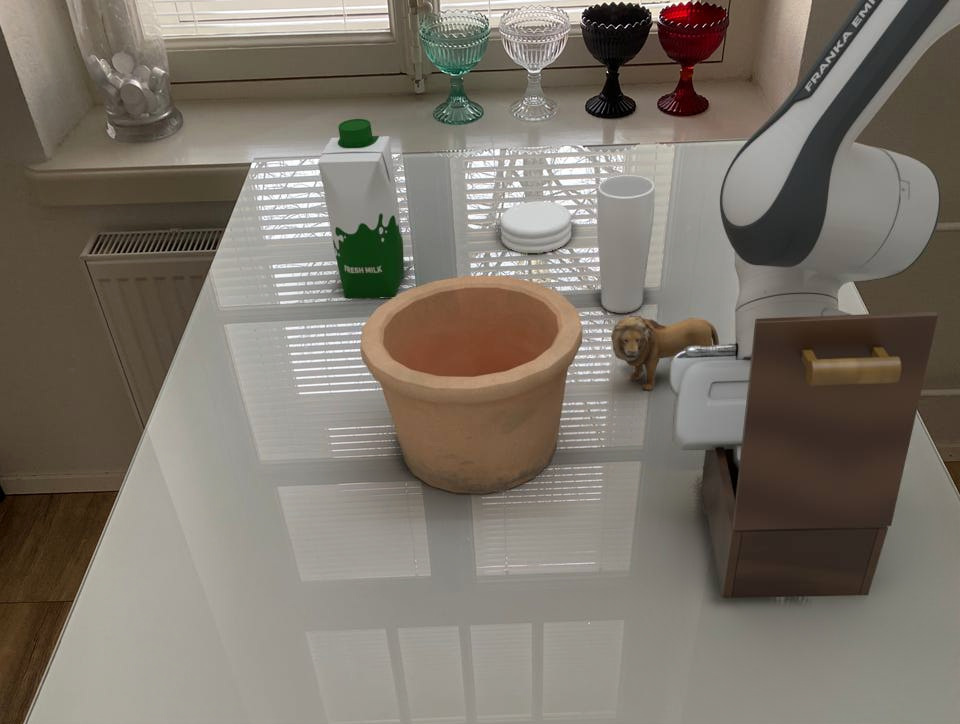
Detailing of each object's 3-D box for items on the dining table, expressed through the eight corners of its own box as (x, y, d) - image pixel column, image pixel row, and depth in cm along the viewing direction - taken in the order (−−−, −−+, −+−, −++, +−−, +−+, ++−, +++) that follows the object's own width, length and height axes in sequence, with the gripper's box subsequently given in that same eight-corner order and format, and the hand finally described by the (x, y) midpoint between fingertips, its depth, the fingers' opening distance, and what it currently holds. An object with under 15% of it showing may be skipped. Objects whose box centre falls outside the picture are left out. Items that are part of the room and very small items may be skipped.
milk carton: (411, 270, 138) (392, 116, 123) (400, 302, 131) (379, 144, 117) (350, 271, 139) (324, 118, 124) (336, 302, 132) (307, 146, 118)
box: (700, 491, 100) (709, 417, 94) (828, 488, 99) (845, 413, 93) (721, 607, 89) (732, 532, 82) (865, 604, 88) (888, 528, 81)
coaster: (549, 260, 137) (549, 235, 134) (488, 247, 141) (486, 223, 138) (583, 231, 142) (583, 206, 140) (523, 219, 146) (522, 195, 144)
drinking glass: (643, 320, 124) (650, 199, 113) (590, 315, 126) (591, 196, 115) (652, 294, 128) (659, 175, 117) (600, 290, 130) (603, 172, 119)
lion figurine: (622, 406, 111) (625, 333, 105) (600, 383, 115) (602, 312, 108) (735, 371, 115) (745, 299, 108) (710, 350, 118) (718, 278, 111)
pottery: (367, 411, 114) (347, 294, 104) (552, 378, 116) (550, 260, 106) (395, 528, 99) (374, 405, 89) (606, 488, 101) (610, 364, 91)
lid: (755, 318, 72) (767, 345, 68) (935, 311, 71) (958, 337, 67) (732, 525, 82) (742, 559, 78) (888, 521, 81) (906, 555, 77)
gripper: (673, 336, 86) (675, 496, 87) (914, 327, 85) (916, 489, 85) (664, 355, 92) (666, 504, 93) (889, 347, 91) (891, 498, 91)
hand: (787, 497), depth 89 cm, fingers closed on peg doll, 4 cm apart
